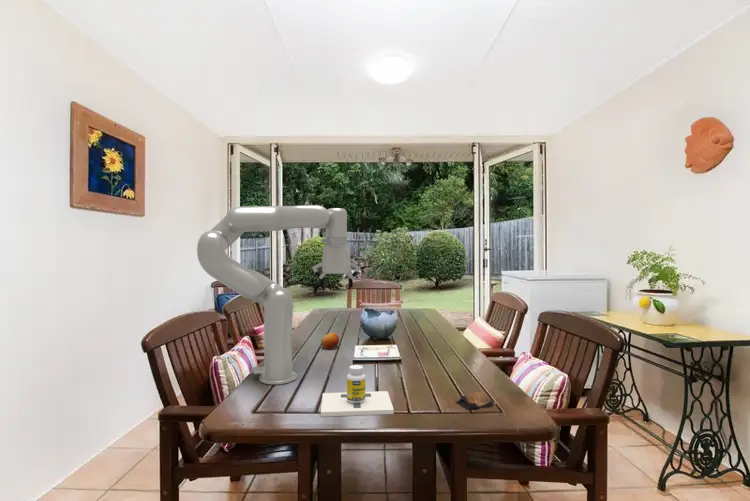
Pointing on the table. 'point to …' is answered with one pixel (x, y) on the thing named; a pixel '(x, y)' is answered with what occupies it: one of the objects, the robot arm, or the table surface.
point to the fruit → (330, 341)
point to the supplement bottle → (356, 384)
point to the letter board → (356, 404)
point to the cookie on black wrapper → (475, 401)
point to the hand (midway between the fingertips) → (336, 289)
